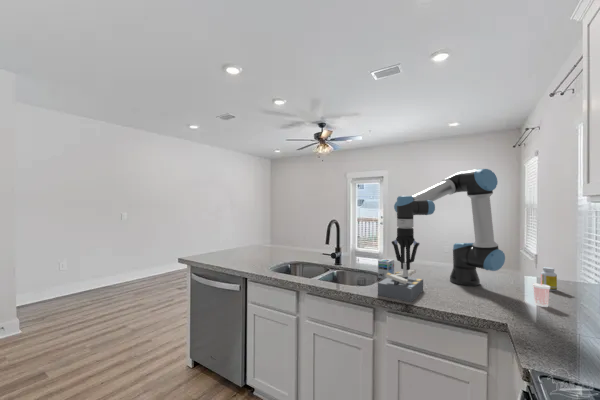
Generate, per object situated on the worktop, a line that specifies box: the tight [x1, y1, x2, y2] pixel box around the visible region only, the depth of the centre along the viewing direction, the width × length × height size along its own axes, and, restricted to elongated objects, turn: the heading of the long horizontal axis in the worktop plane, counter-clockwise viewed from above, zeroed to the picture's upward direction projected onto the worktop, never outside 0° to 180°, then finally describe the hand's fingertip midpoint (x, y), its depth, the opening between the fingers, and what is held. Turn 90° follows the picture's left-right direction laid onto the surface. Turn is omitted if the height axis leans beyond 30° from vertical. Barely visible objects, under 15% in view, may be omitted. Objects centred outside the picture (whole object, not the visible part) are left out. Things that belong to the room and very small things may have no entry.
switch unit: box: [377, 276, 424, 303], centre depth 144 cm, size 16×22×7 cm
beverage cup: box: [532, 273, 550, 308], centre depth 128 cm, size 6×6×14 cm
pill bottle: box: [540, 266, 558, 292], centre depth 152 cm, size 6×6×12 cm
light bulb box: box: [377, 257, 395, 280], centre depth 174 cm, size 11×7×11 cm, turn 143°
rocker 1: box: [385, 273, 408, 284], centre depth 139 cm, size 10×4×2 cm, turn 53°
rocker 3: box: [394, 269, 417, 275], centre depth 150 cm, size 10×4×2 cm, turn 53°
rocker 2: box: [393, 272, 413, 277], centre depth 144 cm, size 10×4×2 cm, turn 53°
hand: (405, 276), depth 136 cm, fingers closed
